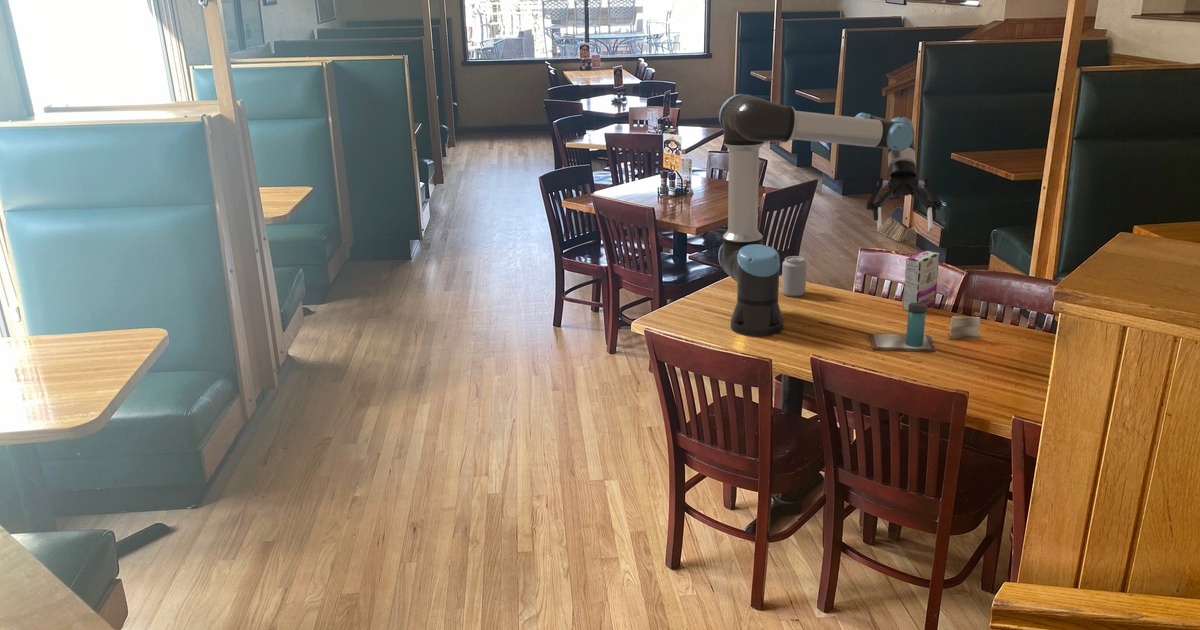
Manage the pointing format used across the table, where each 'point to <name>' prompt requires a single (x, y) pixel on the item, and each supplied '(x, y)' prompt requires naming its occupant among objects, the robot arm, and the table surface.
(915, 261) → the candy bar box
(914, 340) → the teal lidded bottle
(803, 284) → the can
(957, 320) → the word sign
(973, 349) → the table surface
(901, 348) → the grey flat rectangular slab
